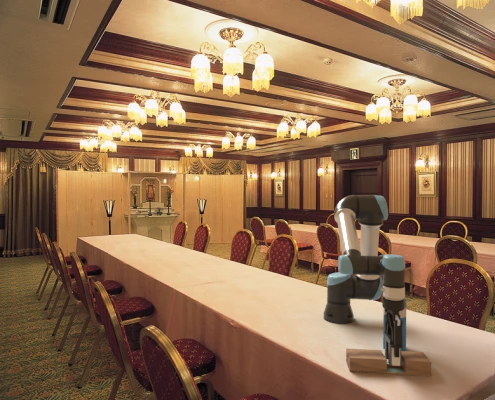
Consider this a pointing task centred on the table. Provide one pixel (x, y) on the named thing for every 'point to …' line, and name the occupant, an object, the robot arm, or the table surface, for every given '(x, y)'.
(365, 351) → the rail
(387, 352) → the clip
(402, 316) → the water bottle
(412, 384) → the table surface
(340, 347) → the table surface
